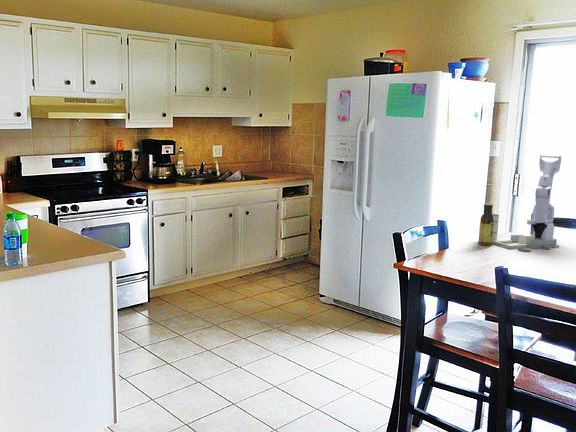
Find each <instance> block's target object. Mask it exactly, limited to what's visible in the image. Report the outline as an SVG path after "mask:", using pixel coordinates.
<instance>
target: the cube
mask: <svg viewBox="0 0 576 432" xmlns="http://www.w3.org/2000/svg"><path fill="white" fill-rule="evenodd" d="M518 234H519V240H518V242H517V244H526V245H527V247H531V241H532V240H534V238H535V236H534V235H530V234H531V233H518Z"/></svg>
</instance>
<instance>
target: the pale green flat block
mask: <svg viewBox="0 0 576 432" xmlns="http://www.w3.org/2000/svg"><path fill="white" fill-rule="evenodd" d="M512 243H513V242H512V240H511V239H500V240H498V239H497V241H493V242H492V245H495V246H498V247H501V248H505V249H509V250H512V249H514V250H515V249H527V247H528V246H527V245H526V244H518V243H517V244H512Z"/></svg>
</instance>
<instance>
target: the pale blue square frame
mask: <svg viewBox="0 0 576 432" xmlns="http://www.w3.org/2000/svg"><path fill="white" fill-rule="evenodd" d="M519 234H520V233H517V234H511V235H510V240H512V243H518V240H519ZM529 234H530V235H534V236H535V234H533V233H529ZM557 240H558V238H557V239H556V238H554V239H545V238H542V237H541V239H538V238H534V240H532V241H531V246H530V248H531V249H538V248H541V247H542V246H548V245H557V242H558V241H557ZM541 249H542V248H541Z"/></svg>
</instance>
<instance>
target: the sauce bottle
mask: <svg viewBox="0 0 576 432" xmlns="http://www.w3.org/2000/svg"><path fill="white" fill-rule="evenodd" d="M493 205H494V204H491V203H484V204H483V214H482V215H481V217H480V221H479V232H478V244H479V245H481V246H486V247H487V246H492V245H493V242H492V238H493V227H494V219H493V215H492V212H493V208H494V206H493Z"/></svg>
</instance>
